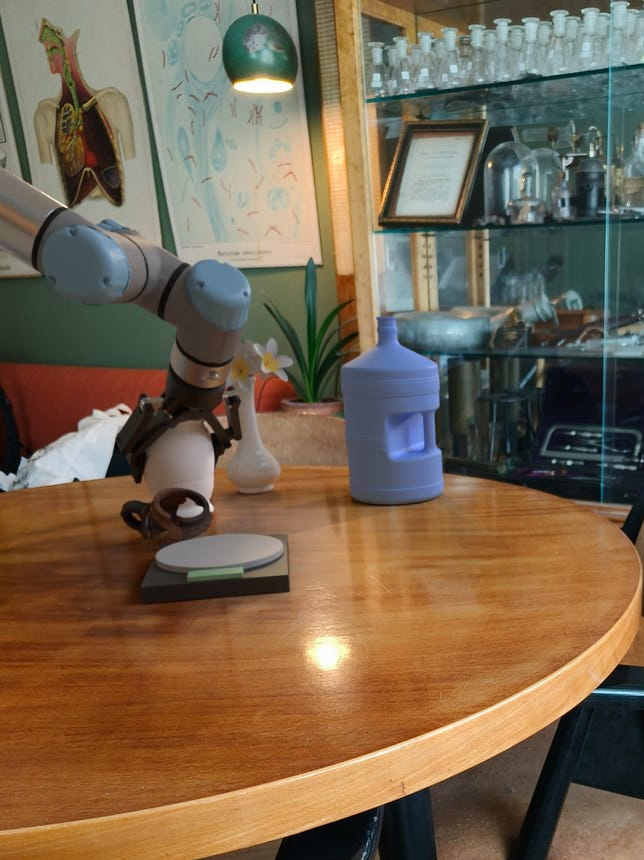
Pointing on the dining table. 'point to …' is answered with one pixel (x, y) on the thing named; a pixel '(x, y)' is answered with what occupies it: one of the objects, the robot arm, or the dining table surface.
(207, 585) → the scale
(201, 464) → the jar
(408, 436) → the water jug
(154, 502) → the pottery mug
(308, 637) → the dining table surface
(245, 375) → the flower vase
